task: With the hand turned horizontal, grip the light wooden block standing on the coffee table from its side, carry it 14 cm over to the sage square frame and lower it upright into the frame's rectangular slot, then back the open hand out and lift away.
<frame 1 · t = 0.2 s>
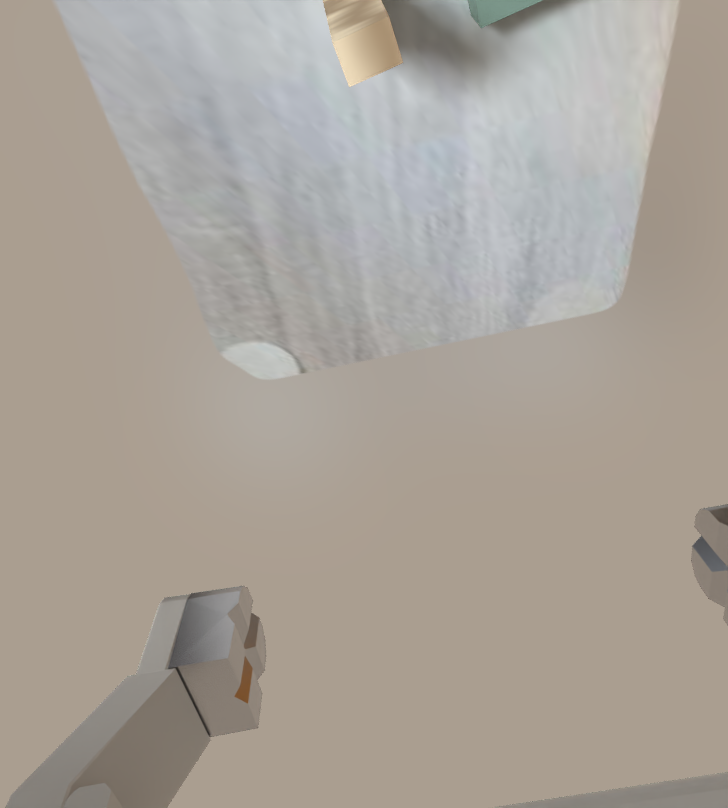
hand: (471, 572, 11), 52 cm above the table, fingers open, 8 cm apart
light wooden block: (351, 5, 49), on the table
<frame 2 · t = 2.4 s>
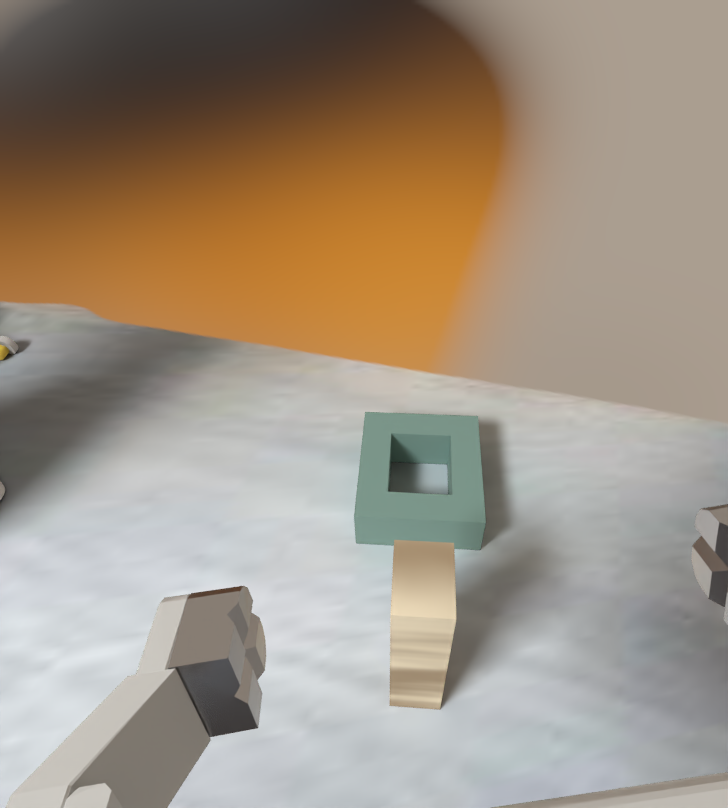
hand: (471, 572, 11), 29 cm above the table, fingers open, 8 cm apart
light wooden block: (415, 673, 38), on the table
sage square frame: (418, 490, 47), on the table
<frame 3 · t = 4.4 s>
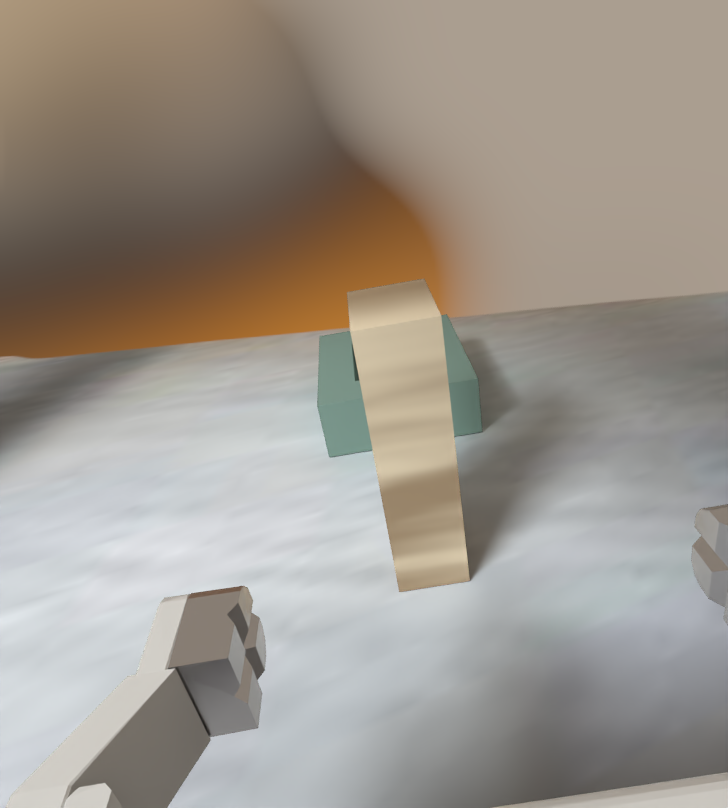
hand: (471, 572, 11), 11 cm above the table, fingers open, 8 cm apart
light wooden block: (427, 553, 27), on the table
sage square frame: (396, 403, 39), on the table
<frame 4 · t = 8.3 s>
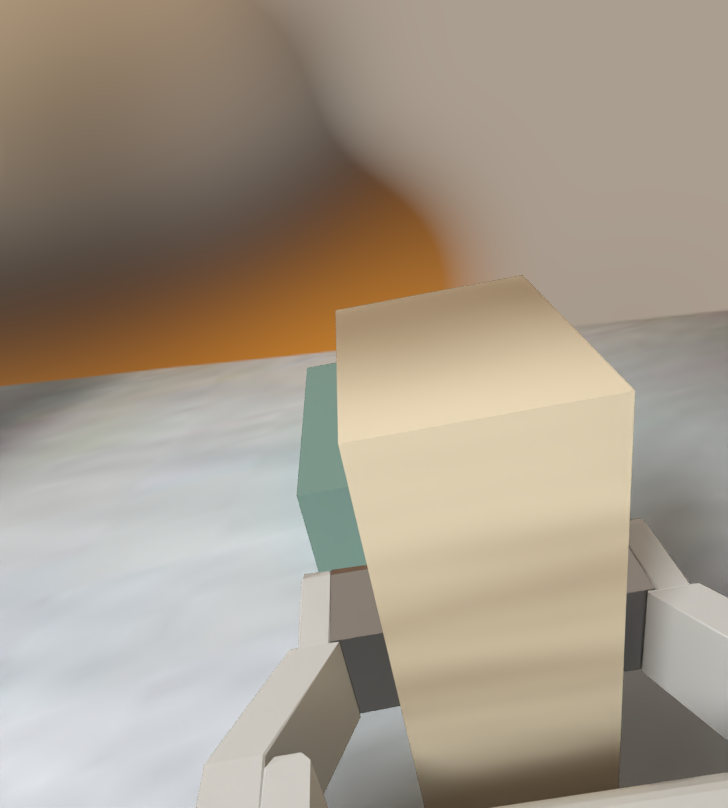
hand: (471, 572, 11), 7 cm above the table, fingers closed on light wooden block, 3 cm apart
sage square frame: (424, 471, 26), on the table
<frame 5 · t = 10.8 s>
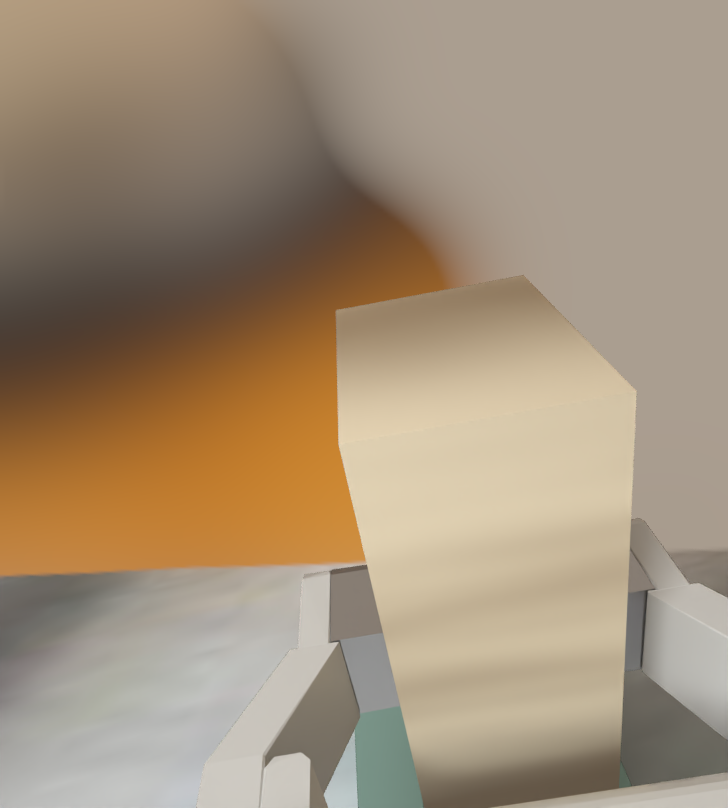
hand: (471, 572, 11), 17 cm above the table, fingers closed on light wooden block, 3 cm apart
when the fingers open (9 cm above the table, at t = 13.7 s): light wooden block drops 2 cm, resting in sage square frame.
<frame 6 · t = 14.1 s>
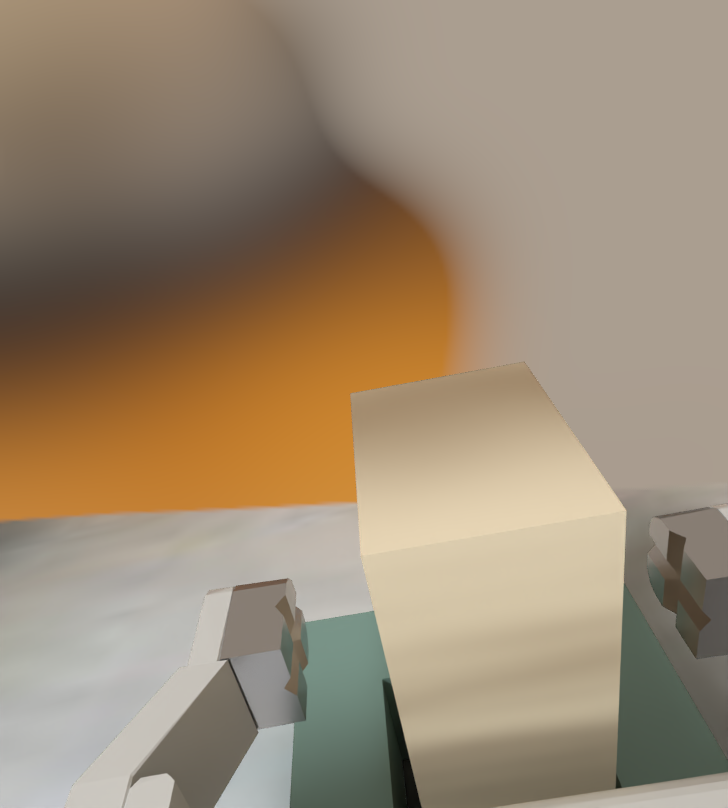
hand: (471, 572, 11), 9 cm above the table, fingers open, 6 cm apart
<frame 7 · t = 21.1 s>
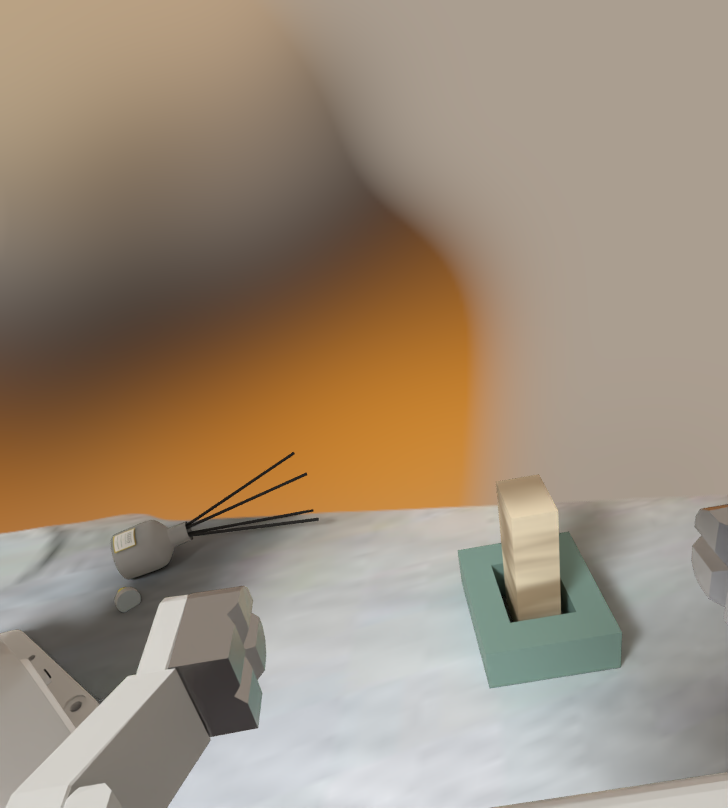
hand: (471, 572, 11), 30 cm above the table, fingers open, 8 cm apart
light wooden block: (533, 620, 46), resting in sage square frame
reed diffuser: (223, 552, 60), on the table
sage square frame: (533, 620, 46), on the table
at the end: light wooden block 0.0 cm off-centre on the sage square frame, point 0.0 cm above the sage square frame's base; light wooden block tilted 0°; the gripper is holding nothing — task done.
